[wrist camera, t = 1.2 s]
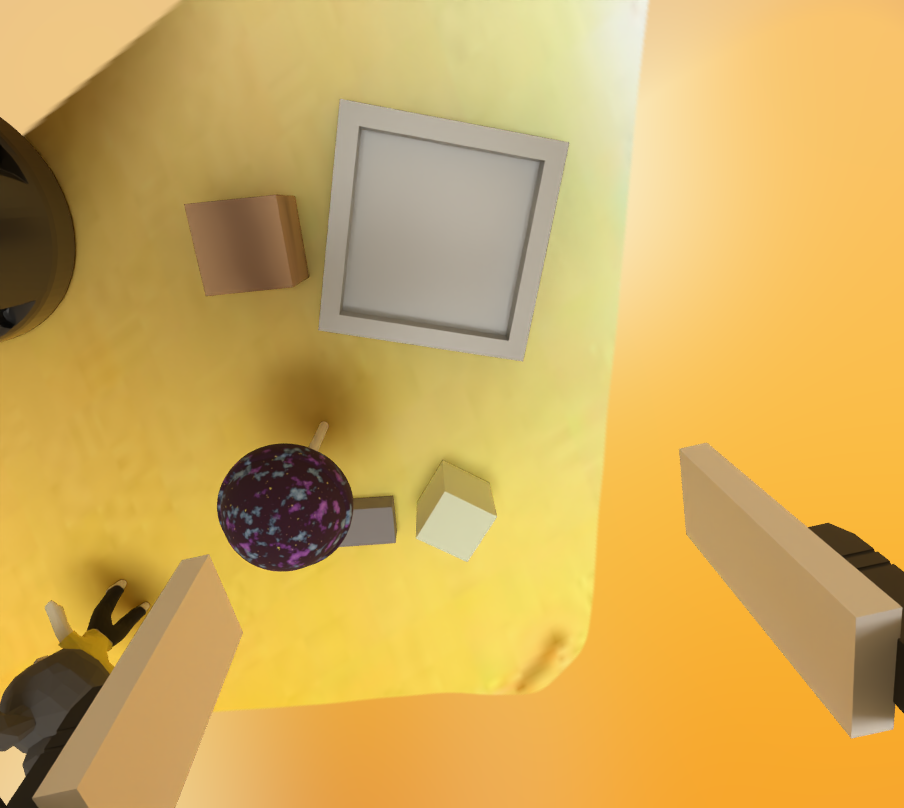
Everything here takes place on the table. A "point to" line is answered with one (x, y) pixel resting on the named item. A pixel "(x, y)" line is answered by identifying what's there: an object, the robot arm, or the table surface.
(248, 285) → the walnut cube
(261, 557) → the lollipop
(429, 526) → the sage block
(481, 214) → the tray
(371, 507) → the rubber eraser
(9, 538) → the table surface
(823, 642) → the robot arm
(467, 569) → the table surface
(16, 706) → the toy
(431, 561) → the table surface
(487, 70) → the table surface
